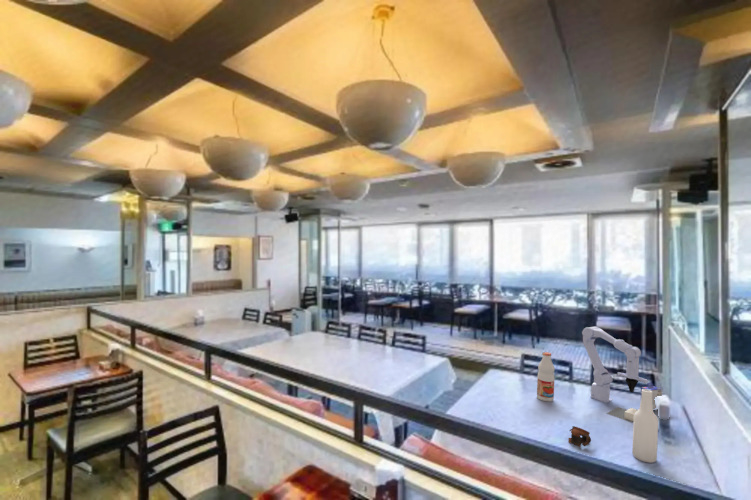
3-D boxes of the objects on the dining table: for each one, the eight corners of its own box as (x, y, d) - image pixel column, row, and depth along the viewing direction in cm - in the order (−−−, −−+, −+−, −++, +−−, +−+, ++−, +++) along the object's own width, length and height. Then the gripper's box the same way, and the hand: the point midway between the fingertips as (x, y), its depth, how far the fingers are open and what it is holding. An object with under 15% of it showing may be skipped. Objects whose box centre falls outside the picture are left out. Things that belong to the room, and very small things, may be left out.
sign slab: (624, 411, 206) (639, 416, 200) (631, 407, 211) (645, 412, 205) (624, 418, 206) (639, 423, 200) (631, 414, 211) (645, 418, 205)
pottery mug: (562, 440, 181) (566, 423, 184) (578, 448, 182) (582, 431, 185) (581, 446, 170) (585, 428, 173) (598, 455, 171) (602, 437, 174)
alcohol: (657, 466, 161) (660, 396, 161) (632, 459, 166) (635, 391, 165) (655, 456, 168) (658, 389, 168) (631, 450, 173) (634, 385, 173)
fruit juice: (544, 394, 236) (546, 350, 236) (557, 400, 228) (559, 354, 227) (533, 396, 233) (535, 351, 232) (545, 402, 224) (547, 355, 224)
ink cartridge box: (653, 406, 224) (654, 382, 224) (662, 410, 218) (663, 385, 218) (639, 407, 222) (640, 382, 222) (648, 411, 216) (649, 386, 216)
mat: (605, 414, 211) (605, 413, 211) (618, 407, 220) (618, 406, 220) (635, 424, 199) (635, 423, 199) (647, 417, 209) (647, 416, 209)
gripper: (615, 366, 221) (614, 389, 221) (644, 373, 209) (643, 397, 209) (620, 364, 225) (619, 386, 225) (649, 371, 213) (648, 395, 214)
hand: (631, 391), depth 218 cm, fingers closed
